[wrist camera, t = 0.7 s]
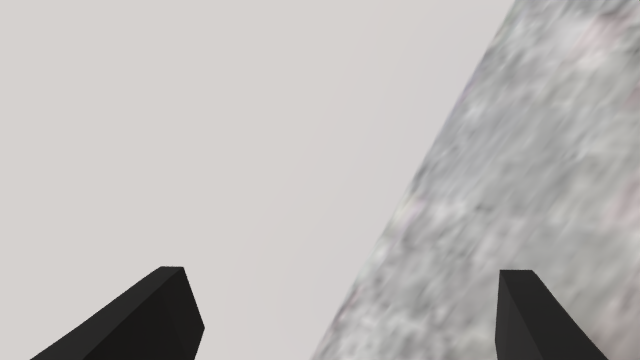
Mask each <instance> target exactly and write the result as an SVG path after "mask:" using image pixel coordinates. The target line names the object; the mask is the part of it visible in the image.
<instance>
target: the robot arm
mask: <svg viewBox="0 0 640 360" xmlns="http://www.w3.org/2000/svg"><path fill="white" fill-rule="evenodd" d="M204 329H205V327H204V324H203V321H202V319H201V316H200V313H199V310H198V307H197V304H196V301H195V299H194V296H193V293H192V290H191V287H190V284H189V281H188V279H187V276H186V273H185V270H184V268H183V267H165V266H162V267H159V268H158V269H156V270H155V271H153V272H152V273H150V274H149V275H147V276H146V277H144V278H143V279H142V280H140V281H139V282H137V283H136V284H135V285H133V286H132V287H131V288H129V289H128V290H127V291H125V292H124V293H122V294H121V295H120V296H119V297H117V298H116V299H114V300H113V301H112V302H110V303H109V304H108V305H106V306H105V307H104V308H102V309H101V310H100V311H98V312H97V313H95V314H94V315H93V316H91V317H90V318H89V319H88V320H86V321H85V322H83V323H82V324H81V325H79V326H78V327H76V328H75V329H74V330H72V331H71V332H69V333H68V334H66V335H65V336H64V337H62V338H61V339H59V340H58V341H56V342H55V343H53V344H52V345H51V346H49V347H48V348H46V349H45V350H43V351H42V352H40V353H39V354H38V355H36V356H35V357H34V358H32V359H30V360H194V359H195V356H196V353H197V351H198V348H199V345H200V341H201V338H202V335H203V332H204ZM495 344H496V351H497V358H498V360H608V359H607V358H606V357H605V356H604V354H603V353H602V352H601V351H600V350H599V349H598V348H597V347H596V346H595V344H594V343H593V342H592V341H591V340H590V339H589V338H588V337H587V336H586V334H585V333H584V332H583V331H582V330H581V329H580V328H579V326H578V325H577V324H576V323H575V322H574V321H573V319H572V318H571V317H570V316H569V314H568V313H567V312H566V311H565V310H564V308H563V307H562V306H561V305H560V304H559V302H558V301H557V300H556V299H555V297H554V296H553V295H552V294H551V292H550V291H549V290H548V289H547V287H546V286H545V285H544V283H543V282H542V281H541V280H540V278H539V277H538V276H537V274H535V273H534V272H533V271H532V270H500V275H499V289H498V303H497V317H496V331H495Z"/></svg>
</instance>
